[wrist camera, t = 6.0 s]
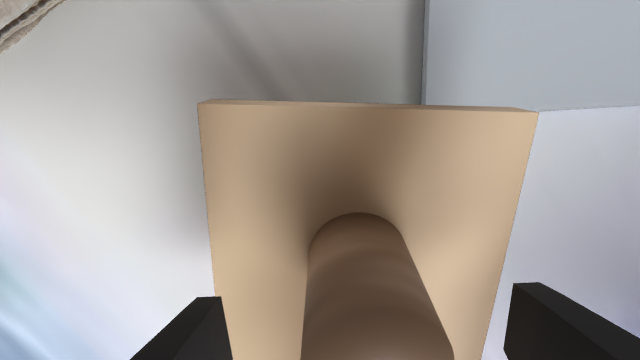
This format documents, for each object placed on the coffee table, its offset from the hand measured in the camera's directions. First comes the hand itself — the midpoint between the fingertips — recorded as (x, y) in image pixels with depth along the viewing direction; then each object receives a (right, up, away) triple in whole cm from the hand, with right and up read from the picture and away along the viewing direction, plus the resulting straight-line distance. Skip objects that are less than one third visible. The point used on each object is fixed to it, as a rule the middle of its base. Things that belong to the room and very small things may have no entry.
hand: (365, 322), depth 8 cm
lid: (0, +2, +3) cm, 3 cm away
